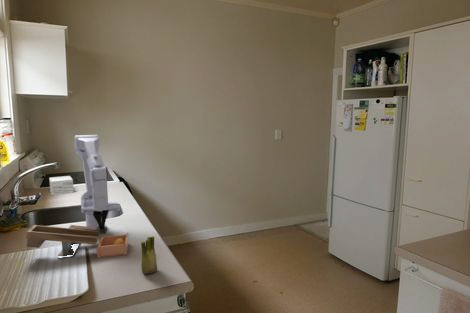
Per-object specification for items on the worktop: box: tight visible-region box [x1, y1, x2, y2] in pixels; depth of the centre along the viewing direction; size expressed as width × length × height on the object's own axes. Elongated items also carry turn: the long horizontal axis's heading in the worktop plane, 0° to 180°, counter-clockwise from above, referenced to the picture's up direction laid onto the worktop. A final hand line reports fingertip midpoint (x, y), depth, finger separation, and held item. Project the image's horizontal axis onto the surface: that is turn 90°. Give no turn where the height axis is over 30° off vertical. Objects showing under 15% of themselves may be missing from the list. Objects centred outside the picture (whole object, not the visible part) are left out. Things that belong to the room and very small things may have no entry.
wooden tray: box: [25, 224, 108, 249], centre depth 123 cm, size 16×25×6 cm, turn 104°
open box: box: [96, 232, 130, 259], centre depth 124 cm, size 11×10×4 cm
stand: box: [57, 242, 82, 257], centre depth 124 cm, size 15×5×6 cm, turn 14°
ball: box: [114, 238, 125, 245], centre depth 124 cm, size 4×4×4 cm
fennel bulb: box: [140, 235, 158, 275], centre depth 106 cm, size 6×5×12 cm
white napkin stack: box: [48, 175, 74, 196], centre depth 217 cm, size 17×13×9 cm
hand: (102, 228), depth 131 cm, fingers closed
